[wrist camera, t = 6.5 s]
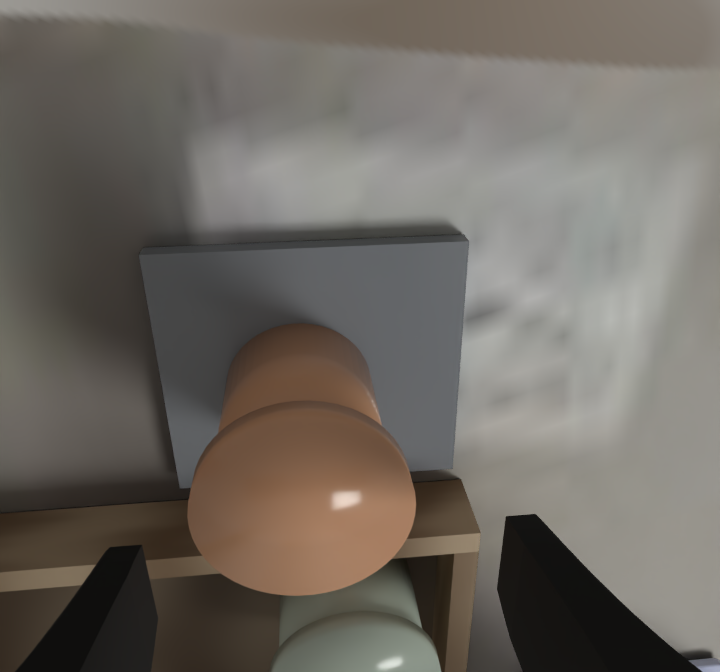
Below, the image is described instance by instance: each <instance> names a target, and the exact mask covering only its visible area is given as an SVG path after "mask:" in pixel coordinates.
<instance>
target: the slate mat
mask: <svg viewBox="0 0 720 672" xmlns="http://www.w3.org/2000/svg"><path fill="white" fill-rule="evenodd" d="M468 248H469V241H468V239H467V238H466V237H465V235H464V234H463V235H439V236H414V237H390V238H366V239H342V240H317V241H293V242H269V243H244V244H220V245H196V246H172V247H147V248H143V249H142V250H141V252H140V254H139V260H140V265H141V271H142V277H143V282H144V288H145V294H146V299H147V305H148V311H149V316H150V322H151V328H152V333H153V339H154V345H155V350H156V356H157V362H158V367H159V373H160V379H161V384H162V390H163V396H164V402H165V407H166V413H167V419H168V424H169V430H170V436H171V441H172V447H173V453H174V458H175V464H176V470H177V475H178V481H179V487H180V489H181V488H191V486H192V481H193V476H194V472H195V468H196V465H197V463H198V461H199V458H200V456H201V455H202V453H203V451H204V450H205V448H206V447H207V445H208V444H209V443H210V442H211V440H212V439H213V438H214V437H215V436H216V435H217V434H218V429H219V423H220V417H221V410H222V404H223V398H224V392H225V385H226V379H227V375H228V370H229V368H230V365H231V363H232V361H233V359H234V357H235V356H236V354H237V353H238V352H239V350H240V349H241V348H242V347H243V346H244V345H245V344H246V343H247V342H248V341H250V340H251V339H252V338H254V337H255V336H257V335H258V334H260V333H262V332H264V331H266V330H269V329H271V328H274V327H278V326H281V325H287V324H299V323H304V324H314V325H318V326H323V327H326V328H329V329H332V330H334V331H336V332H338V333H340V334H341V335H343V336H344V337H346V338H347V339H349V340H350V341H351V342H352V343H353V344H354V345H355V346H356V347H357V348H358V349H359V350H360V352H361V353H362V355H363V356H364V358H365V360H366V362H367V364H368V367H369V371H370V374H371V379H372V383H373V388H374V392H375V396H376V401H377V405H378V410H379V414H380V419H381V423H382V426H383V427H384V428H385V429H386V430H387V431H388V432H389V433H390V434H391V435H392V436H393V437H394V438H395V440H396V441H397V443H398V444H399V446H400V447H401V449H402V451H403V453H404V455H405V457H406V460H407V464H408V467H409V471H410V472H414V471H428V470H442V469H453V455H454V442H455V428H456V414H457V400H458V386H459V372H460V359H461V345H462V331H463V317H464V303H465V290H466V276H467V262H468Z"/></svg>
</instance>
